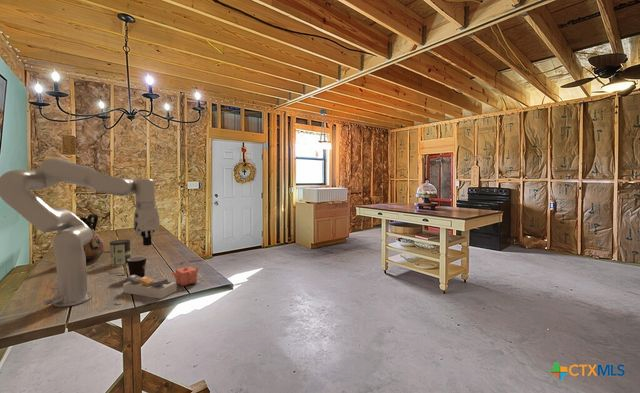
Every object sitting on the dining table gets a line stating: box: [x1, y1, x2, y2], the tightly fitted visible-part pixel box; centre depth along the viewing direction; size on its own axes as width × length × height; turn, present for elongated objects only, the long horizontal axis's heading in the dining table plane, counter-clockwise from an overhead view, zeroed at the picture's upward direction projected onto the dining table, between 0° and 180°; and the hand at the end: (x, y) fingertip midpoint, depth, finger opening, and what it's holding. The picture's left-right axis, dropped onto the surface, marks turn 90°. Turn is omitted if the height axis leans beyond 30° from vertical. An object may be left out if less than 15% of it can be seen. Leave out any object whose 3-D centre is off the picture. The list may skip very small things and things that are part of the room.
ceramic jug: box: [79, 213, 105, 265], centre depth 176 cm, size 17×15×30 cm
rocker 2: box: [138, 275, 157, 286], centre depth 130 cm, size 4×6×2 cm, turn 74°
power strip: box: [122, 278, 178, 299], centre depth 132 cm, size 9×27×4 cm, turn 74°
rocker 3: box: [150, 278, 168, 286], centre depth 128 cm, size 4×6×2 cm, turn 74°
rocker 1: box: [126, 274, 142, 284], centre depth 132 cm, size 4×6×2 cm, turn 74°
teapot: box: [170, 265, 201, 287], centre depth 142 cm, size 12×15×8 cm
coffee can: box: [109, 239, 132, 267], centre depth 172 cm, size 10×10×14 cm
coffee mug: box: [127, 256, 147, 277], centre depth 151 cm, size 12×9×10 cm
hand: (147, 245), depth 129 cm, fingers closed
